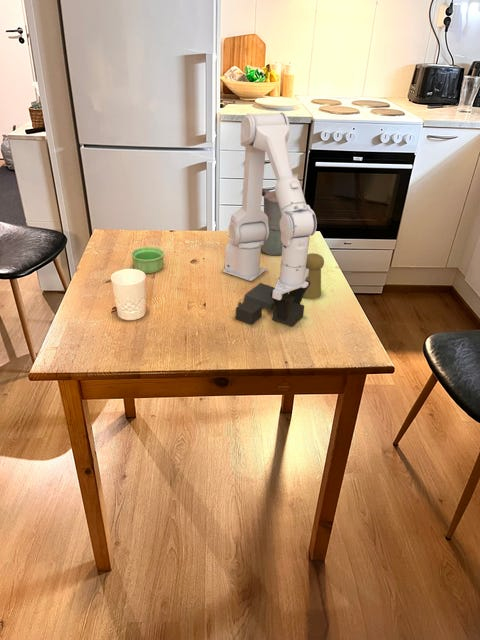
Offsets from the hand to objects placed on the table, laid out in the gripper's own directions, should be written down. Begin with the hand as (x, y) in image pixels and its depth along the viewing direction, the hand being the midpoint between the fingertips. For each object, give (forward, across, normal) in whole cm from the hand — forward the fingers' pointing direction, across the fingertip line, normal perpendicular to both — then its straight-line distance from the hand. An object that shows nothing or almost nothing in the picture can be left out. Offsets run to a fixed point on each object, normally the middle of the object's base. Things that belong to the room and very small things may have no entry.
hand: (288, 313), depth 120 cm
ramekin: (+2, +1, +45) cm, 45 cm away
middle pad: (+1, 0, 0) cm, 1 cm away
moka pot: (+2, +33, +23) cm, 40 cm away
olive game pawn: (+2, +15, +1) cm, 15 cm away
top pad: (+2, -5, +8) cm, 10 cm away
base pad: (+2, +5, +9) cm, 10 cm away
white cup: (+2, -20, +32) cm, 38 cm away
